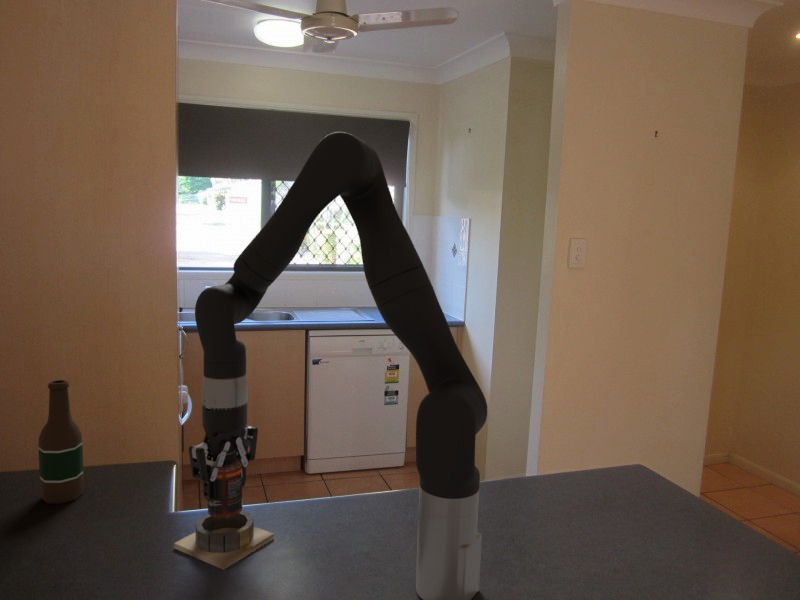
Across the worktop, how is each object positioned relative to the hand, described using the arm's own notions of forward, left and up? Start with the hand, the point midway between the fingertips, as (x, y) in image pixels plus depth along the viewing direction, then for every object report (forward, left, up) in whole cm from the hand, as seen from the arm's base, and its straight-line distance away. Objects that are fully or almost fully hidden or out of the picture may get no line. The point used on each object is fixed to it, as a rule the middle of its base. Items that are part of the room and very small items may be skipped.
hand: (225, 492), depth 107 cm
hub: (0, 0, -9) cm, 9 cm away
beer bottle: (+41, +5, -10) cm, 42 cm away
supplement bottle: (0, 0, -4) cm, 4 cm away
